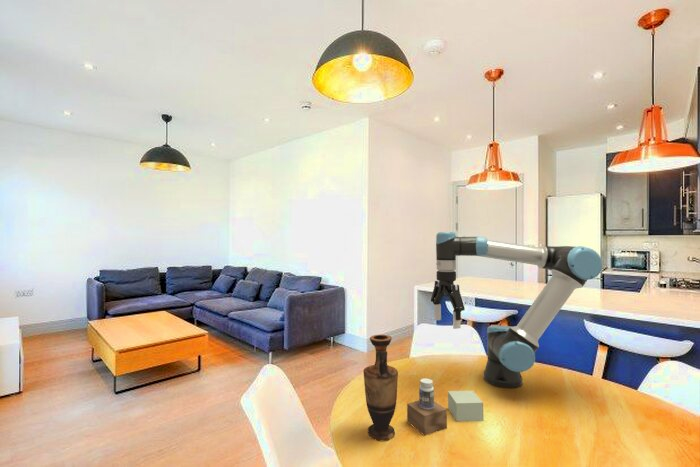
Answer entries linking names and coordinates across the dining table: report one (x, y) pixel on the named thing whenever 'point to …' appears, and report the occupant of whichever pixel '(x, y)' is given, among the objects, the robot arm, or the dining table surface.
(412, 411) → the walnut block
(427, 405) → the pill bottle
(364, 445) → the dining table surface
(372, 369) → the vase
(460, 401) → the sage block
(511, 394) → the dining table surface
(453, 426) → the dining table surface
